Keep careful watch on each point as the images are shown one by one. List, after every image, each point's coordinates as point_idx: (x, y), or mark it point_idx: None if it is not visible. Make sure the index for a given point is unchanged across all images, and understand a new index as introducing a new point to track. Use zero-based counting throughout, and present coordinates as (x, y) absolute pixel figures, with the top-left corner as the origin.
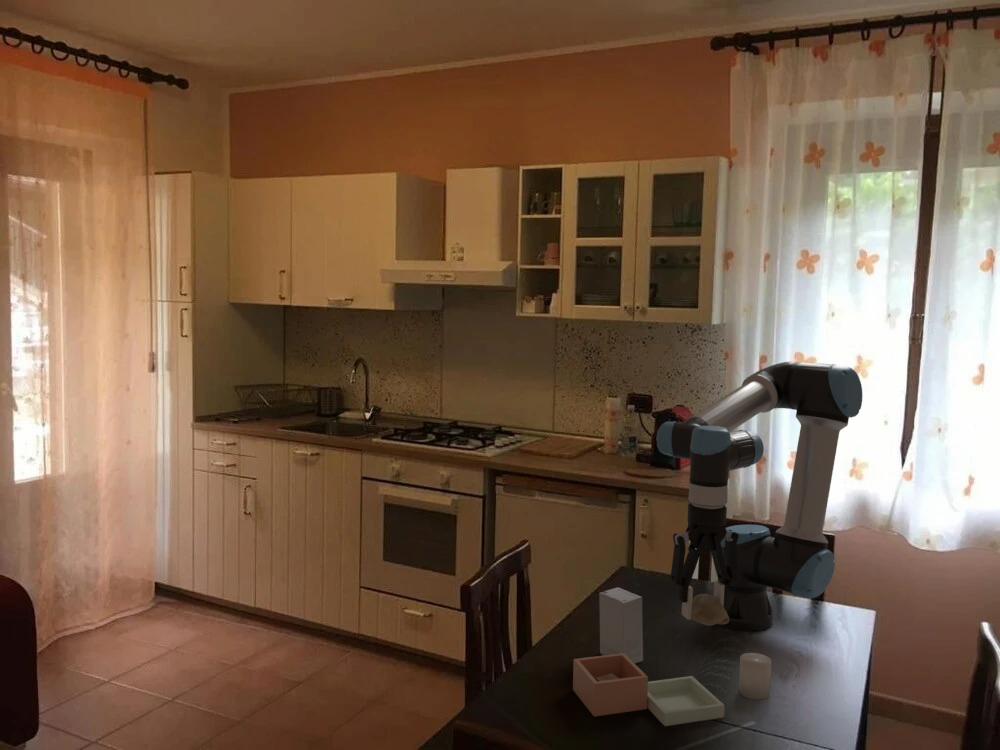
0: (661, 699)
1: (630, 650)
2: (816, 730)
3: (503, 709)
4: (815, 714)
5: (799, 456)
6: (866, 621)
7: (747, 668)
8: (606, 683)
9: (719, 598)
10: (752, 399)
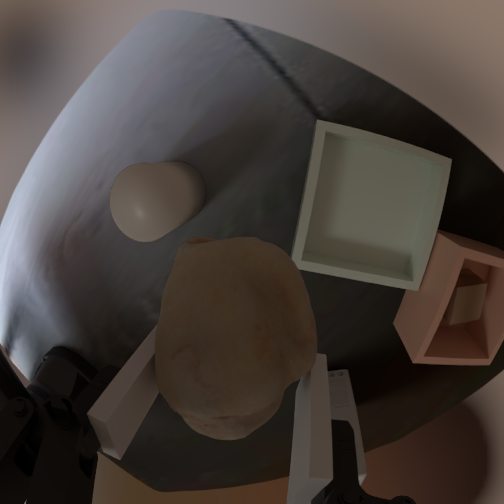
0: (382, 244)
1: (335, 391)
2: (173, 39)
3: None
4: (134, 85)
5: None
6: None
7: (179, 188)
8: None
9: (142, 377)
10: None
